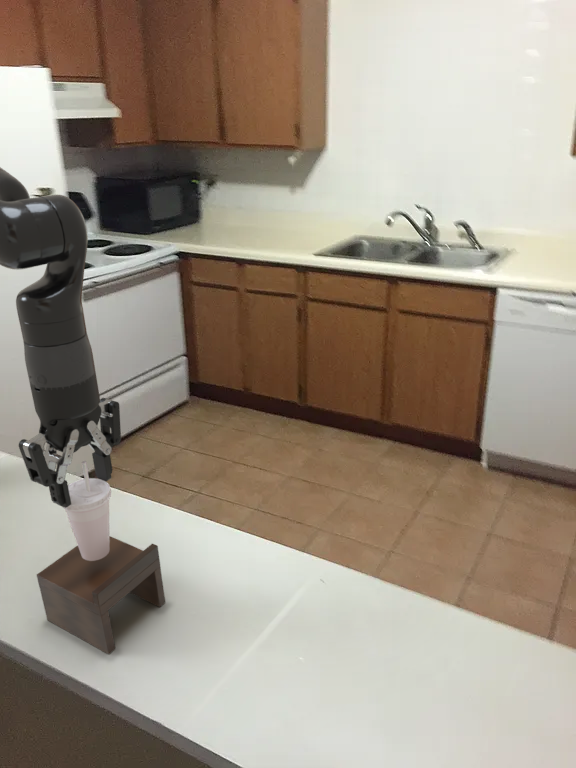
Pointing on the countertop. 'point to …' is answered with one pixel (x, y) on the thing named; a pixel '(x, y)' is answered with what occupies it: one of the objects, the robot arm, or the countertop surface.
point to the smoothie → (90, 515)
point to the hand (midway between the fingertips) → (84, 491)
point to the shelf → (98, 589)
